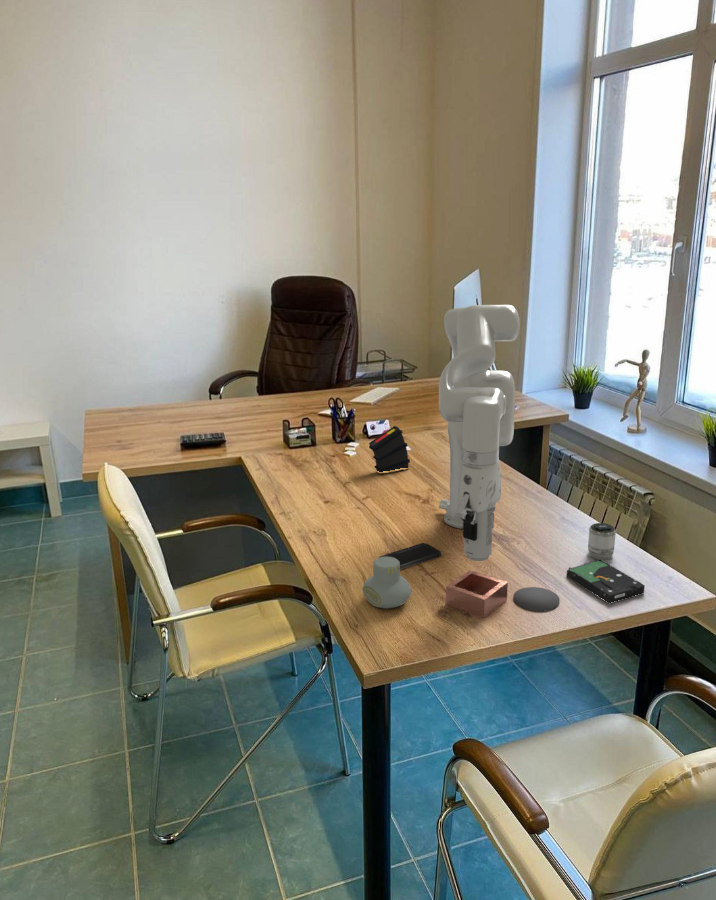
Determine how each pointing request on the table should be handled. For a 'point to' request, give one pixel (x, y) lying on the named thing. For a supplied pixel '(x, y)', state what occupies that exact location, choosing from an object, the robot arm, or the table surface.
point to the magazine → (390, 450)
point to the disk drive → (605, 581)
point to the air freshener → (386, 584)
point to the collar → (473, 602)
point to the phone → (414, 555)
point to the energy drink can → (481, 536)
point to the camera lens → (601, 541)
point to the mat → (536, 599)
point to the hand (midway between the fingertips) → (478, 532)
